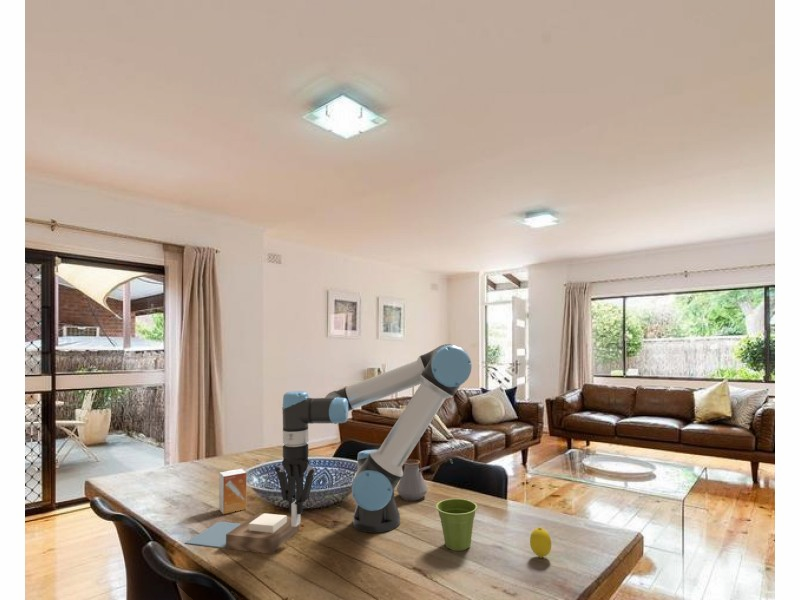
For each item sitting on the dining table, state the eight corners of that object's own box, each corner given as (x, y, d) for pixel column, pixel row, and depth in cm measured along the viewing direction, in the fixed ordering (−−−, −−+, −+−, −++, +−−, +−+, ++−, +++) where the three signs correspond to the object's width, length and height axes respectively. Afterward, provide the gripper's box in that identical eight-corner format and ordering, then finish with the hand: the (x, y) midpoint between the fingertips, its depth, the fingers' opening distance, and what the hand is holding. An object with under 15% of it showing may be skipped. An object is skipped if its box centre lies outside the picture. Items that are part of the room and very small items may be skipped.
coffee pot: (393, 501, 174) (392, 459, 175) (401, 490, 185) (401, 451, 186) (450, 505, 168) (449, 462, 169) (456, 494, 179) (455, 454, 180)
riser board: (299, 530, 150) (298, 517, 150) (271, 554, 134) (271, 539, 134) (257, 526, 154) (257, 513, 154) (226, 548, 138) (226, 534, 139)
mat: (255, 526, 154) (255, 525, 154) (223, 548, 139) (223, 547, 139) (219, 522, 158) (219, 521, 158) (184, 543, 142) (184, 542, 142)
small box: (223, 515, 164) (223, 476, 165) (218, 509, 169) (218, 472, 170) (246, 509, 169) (246, 472, 169) (242, 504, 174) (241, 468, 175)
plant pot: (430, 541, 140) (429, 502, 141) (466, 534, 144) (464, 496, 145) (448, 559, 129) (447, 516, 130) (486, 550, 133) (485, 509, 134)
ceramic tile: (286, 522, 146) (286, 515, 147) (272, 532, 139) (272, 525, 139) (263, 519, 149) (263, 513, 149) (249, 530, 141) (249, 523, 141)
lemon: (535, 551, 132) (534, 521, 133) (555, 556, 129) (553, 526, 129) (527, 558, 128) (526, 528, 128) (547, 565, 124) (545, 533, 125)
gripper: (269, 445, 141) (269, 527, 139) (309, 448, 137) (310, 532, 136) (282, 439, 148) (282, 517, 147) (320, 441, 144) (321, 521, 143)
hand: (295, 524), depth 141 cm, fingers closed
